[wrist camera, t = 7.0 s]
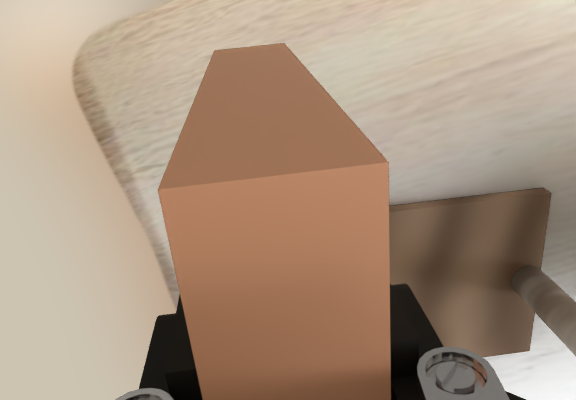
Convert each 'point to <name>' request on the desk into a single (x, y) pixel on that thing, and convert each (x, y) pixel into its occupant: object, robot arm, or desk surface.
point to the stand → (480, 269)
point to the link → (279, 236)
